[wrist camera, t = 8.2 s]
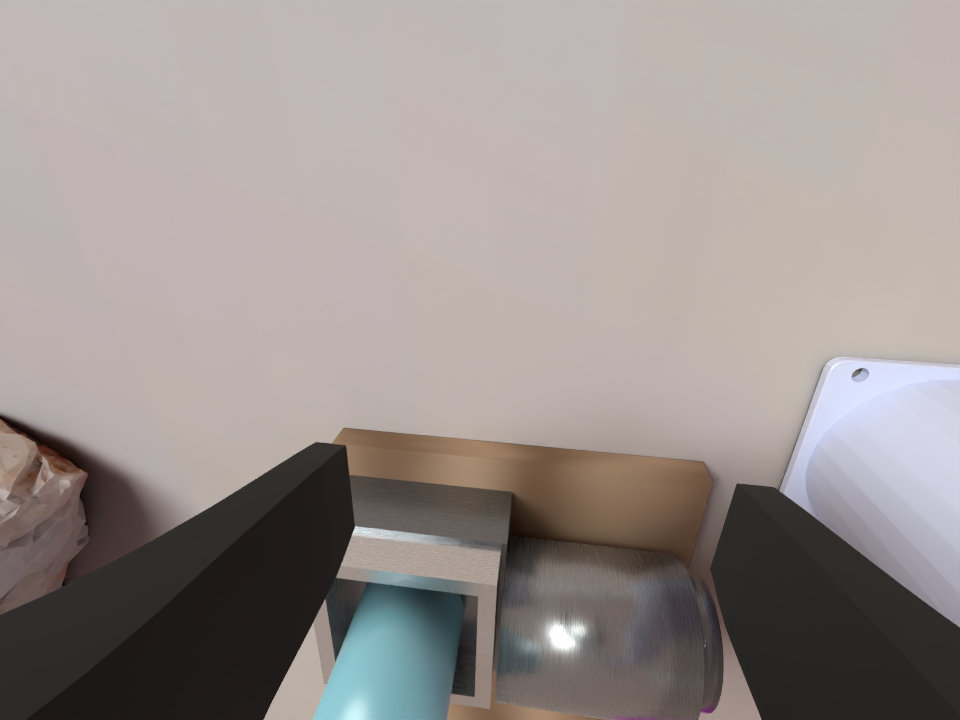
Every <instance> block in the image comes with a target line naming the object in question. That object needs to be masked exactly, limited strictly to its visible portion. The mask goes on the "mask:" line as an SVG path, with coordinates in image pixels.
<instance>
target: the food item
mask: <svg viewBox="0 0 960 720" xmlns="http://www.w3.org/2000/svg"><path fill="white" fill-rule="evenodd" d="M87 476H88V473H86V472H84V471H83V470H81V469H78V468H77V467H76V466H75V465H74V464H73V463H72V462H71V461H69V460H68V459H65V458H63V457H62V456H61V455H60V454H59V453H57V452H56V451H54V450H53V449H51V448H48V447H47V446H46V445H44V444H42V443H41V442H39V441H38V440H36V439H34V438H32V437H31V436H29V435H27V434H26V433H24V432H22V431H20V430H18V429H16V428H14V427H12V426H10V425H9V424H8V423H6V422H5V421H3V420H1V419H0V615H1V614H3V613H6V612H8V611H10V610H12V609H15V608H17V607H19V606H21V605H24V604H26V603H28V602H31V601H33V600H35V599H37V598H40V597H42V596H44V595H46V594H48V593H51V592H53V591H55V590H57V589H59V588H61V587H62V582H63V580H64V578H65V575H66V571H67V565H68V563H69V562H70V561H71V560H72V559H73V558H74V557H75V555H76V554H78V553H79V552H80V551H81V550H82V549H83V548H84V547H85V546H86V545H87V544H88V542H89V541H90V536H89V535H88V526H87V525H85V524H84V523H85V522H86V518H85V512H84V507H83V503H82V501H81V499H80V497H79V496H80V493H81V490H82V488H83V486H84V483H85V481H86V478H87Z"/></svg>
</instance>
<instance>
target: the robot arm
mask: <svg viewBox="0 0 960 720" xmlns="http://www.w3.org/2000/svg"><path fill="white" fill-rule="evenodd" d="M859 368H862V371H861V372H860V374H859V375H857V376H855V377H852V374H853V372H854V371H855V370H857V369H859ZM354 528H355V522H354V512H353V503H352V494H351V485H350V476H349V467H348V457H347V448H346V445H339V444H329V443H319V442H316V443H314V444H312V445H310V446H309V447H307V448H305V449H303V450H302V451H300V452H298V453H297V454H295V455H293V456H292V457H290V458H289V459H287V460H285V461H284V462H282V463H281V464H279V465H278V466H276V467H274V468H273V469H271V470H270V471H268V472H266V473H265V474H263V475H262V476H260V477H259V478H257V479H255V480H254V481H252V482H251V483H249V484H247V485H246V486H244V487H243V488H241V489H239V490H238V491H236V492H234V493H233V494H231V495H230V496H228V497H226V498H225V499H223V500H222V501H220V502H218V503H217V504H215V505H213V506H212V507H210V508H208V509H207V510H205V511H203V512H201V513H200V514H198V515H196V516H194V517H193V518H191V519H189V520H188V521H186V522H184V523H182V524H181V525H179V526H177V527H175V528H174V529H172V530H170V531H168V532H167V533H165V534H163V535H162V536H160V537H158V538H156V539H155V540H153V541H151V542H149V543H148V544H146V545H144V546H142V547H140V548H138V549H136V550H135V551H133V552H131V553H129V554H127V555H125V556H123V557H121V558H119V559H117V560H115V561H114V562H112V563H110V564H108V565H106V566H104V567H102V568H100V569H98V570H96V571H94V572H92V573H90V574H88V575H86V576H83V577H81V578H79V579H77V580H75V581H73V582H71V583H69V584H67V585H65V586H63V587H61V588H59V589H57V590H55V591H53V592H51V593H48V594H46V595H44V596H42V597H40V598H37V599H35V600H33V601H31V602H28V603H26V604H24V605H21V606H19V607H17V608H15V609H12V610H10V611H8V612H6V613H3V614H1V615H0V720H263V719H264V717H265V715H266V713H267V711H268V709H269V707H270V705H271V702H272V700H273V698H274V696H275V695H276V693H277V691H278V689H279V687H280V685H281V683H282V681H283V679H284V677H285V675H286V673H287V672H288V670H289V668H290V666H291V664H292V662H293V660H294V658H295V656H296V654H297V652H298V650H299V648H300V647H301V645H302V643H303V641H304V639H305V637H306V635H307V633H308V631H309V629H310V627H311V625H312V624H313V622H314V620H315V618H316V616H317V614H318V612H319V610H320V608H321V606H322V604H323V602H324V600H325V598H326V596H327V594H328V592H329V590H330V588H331V586H332V584H333V582H334V580H335V578H336V576H337V574H338V571H339V569H340V566H341V564H342V561H343V558H344V556H345V553H346V551H347V548H348V545H349V542H350V539H351V537H352V534H353V531H354ZM710 569H711V573H712V577H713V581H714V585H715V589H716V593H717V597H718V601H719V605H720V608H721V612H722V616H723V619H724V623H725V627H726V629H727V632H728V635H729V637H730V640H731V643H732V645H733V648H734V650H735V653H736V655H737V658H738V661H739V663H740V666H741V668H742V671H743V673H744V676H745V679H746V681H747V684H748V686H749V689H750V691H751V694H752V696H753V699H754V701H755V704H756V706H757V709H758V711H759V714H760V716H761V719H762V720H960V365H959V364H944V363H930V362H915V361H901V360H887V359H872V358H858V357H836V358H834V359H832V360H830V361H829V362H828V363H827V364H826V365H825V367H824V368H823V371H822V374H821V377H820V379H819V382H818V385H817V388H816V390H815V393H814V396H813V399H812V402H811V404H810V407H809V410H808V413H807V415H806V418H805V421H804V424H803V426H802V429H801V432H800V435H799V438H798V440H797V443H796V446H795V449H794V451H793V454H792V457H791V460H790V463H789V465H788V468H787V471H786V474H785V476H784V479H783V482H782V485H781V487H780V490H779V491H778V490H777V489H775V488H774V487H766V486H756V485H746V484H737V485H736V488H735V491H734V494H733V498H732V501H731V504H730V507H729V511H728V514H727V517H726V520H725V523H724V527H723V530H722V533H721V536H720V539H719V543H718V546H717V549H716V552H715V555H714V559H713V562H712V565H711V568H710Z"/></svg>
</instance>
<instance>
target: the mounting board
mask: <svg viewBox="0 0 960 720" xmlns="http://www.w3.org/2000/svg"><path fill="white" fill-rule="evenodd" d="M332 444H339V445H346V448H347V457H348V467H349V475H357V476H367V477H376V478H386V479H395V480H405V481H414V482H424V483H433V484H443V485H452V486H462V487H471V488H481V489H490V490H500V491H509V492H512V502H511V517H510V532H509V535H512V536H521V537H530V538H538V539H547V540H556V541H564V542H573V543H582V544H590V545H599V546H608V547H616V548H625V549H634V550H642V551H651V552H660V553H668V554H674V555H676V556H678V557H679V558H680V559H681V560H682V562H683V563H684V565H685V567H686V569H687V570H688V567H689V563H690V560H691V556H692V553H693V549H694V546H695V542H696V539H697V535H698V532H699V528H700V525H701V521H702V518H703V514H704V511H705V507H706V504H707V500H708V497H709V493H710V490H711V486H712V483H713V480H712V478H711V476H710V474H709V472H708V470H707V468H706V466H705V464H704V463H703V462H699V461H688V460H678V459H667V458H656V457H646V456H635V455H625V454H614V453H603V452H593V451H582V450H572V449H561V448H550V447H540V446H529V445H519V444H508V443H497V442H487V441H476V440H466V439H455V438H444V437H434V436H423V435H413V434H402V433H391V432H381V431H370V430H360V429H349V428H343V429H342V431H341V432H340V433H339V435H338V436H337V437H336V439H335V440H334V441H333V443H332ZM496 674H497V671H494V673H493V683H492V693H491V703H490V709H485V708H478V707H472V706H465V705H459V704H452V703H450V704H449V710H448V716H447V720H604V719H597V718H591V717H584V716H578V715H571V714H565V713H558V712H552V711H545V710H539V709H532V708H526V707H519V706H513V705H506V704H500V703H495V689H496Z"/></svg>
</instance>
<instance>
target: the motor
mask: <svg viewBox="0 0 960 720" xmlns="http://www.w3.org/2000/svg"><path fill="white" fill-rule="evenodd" d="M349 476H350V485H351V494H352V503H353V512H354V522H355V528H354V531H353V534H352V537H351V539H350V542H349V545H348V548H347V551H346V553H345V556H344V558H343V561H342V564H341V566H340V569H339V571H338V574H337V576H336V578H335V580H334V582H333V584H332V586H331V588H330V590H329V592H328V594H327V596H326V598H325V600H324V602H323V604H322V606H321V608H320V610H319V612H318V614H317V616H316V618H315V620H314V627H315V632H316V638H317V644H318V649H319V655H320V661H321V667H322V672H323V678H324V684H327V683H328V680H329V678H330V675H331V672H332V670H333V667H334V665H335V662H336V660H337V657H338V655H339V652H340V650H341V647H342V645H343V642H344V640H345V637H346V635H347V632H348V630H349V627H350V624H351V622H352V619H353V617H354V614H355V612H356V609H357V607H358V604H359V602H360V599H361V597H362V594H363V592H364V589H365V587H366V584H367V583H368V582H372V583H380V584H387V585H395V586H403V587H411V588H418V589H426V590H434V591H441V592H449V593H457V594H460V595H461V597H462V600H463V603H464V616H463V622H462V628H461V635H460V641H459V647H458V654H457V660H456V666H455V672H454V679H453V685H452V691H451V697H450V703H452V704H459V705H465V706H472V707H478V708H485V709H490V703H491V693H492V683H493V673H494V671H497V674H496V689H495V703H500V704H506V705H513V706H519V707H526V708H532V709H539V710H545V711H552V712H558V713H565V714H571V715H578V716H584V717H591V718H597V719H604V720H698V718H699V715H700V712H702V713H711V712H713V711H714V710H715V708H716V707H717V705H718V703H719V699H720V696H721V691H722V683H723V647H722V638H721V631H720V625H719V620H718V616H717V611H716V608H715V604H714V601H713V598H712V596H711V593H710V591H709V589H708V587H707V585H706V583H705V582H704V580H703V579H702V578H701V577H700V576H699V575H698V574H695V573H688V571H687V569H686V567H685V565H684V563H683V562H682V560H681V559H680V558H679V557H678V556H676V555H674V554H668V553H660V552H651V551H642V550H634V549H625V548H616V547H608V546H599V545H590V544H582V543H573V542H564V541H556V540H547V539H538V538H530V537H521V536H512V535H509V532H510V517H511V502H512V492H509V491H500V490H490V489H481V488H471V487H462V486H452V485H443V484H433V483H424V482H414V481H405V480H395V479H386V478H376V477H367V476H357V475H349Z"/></svg>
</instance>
